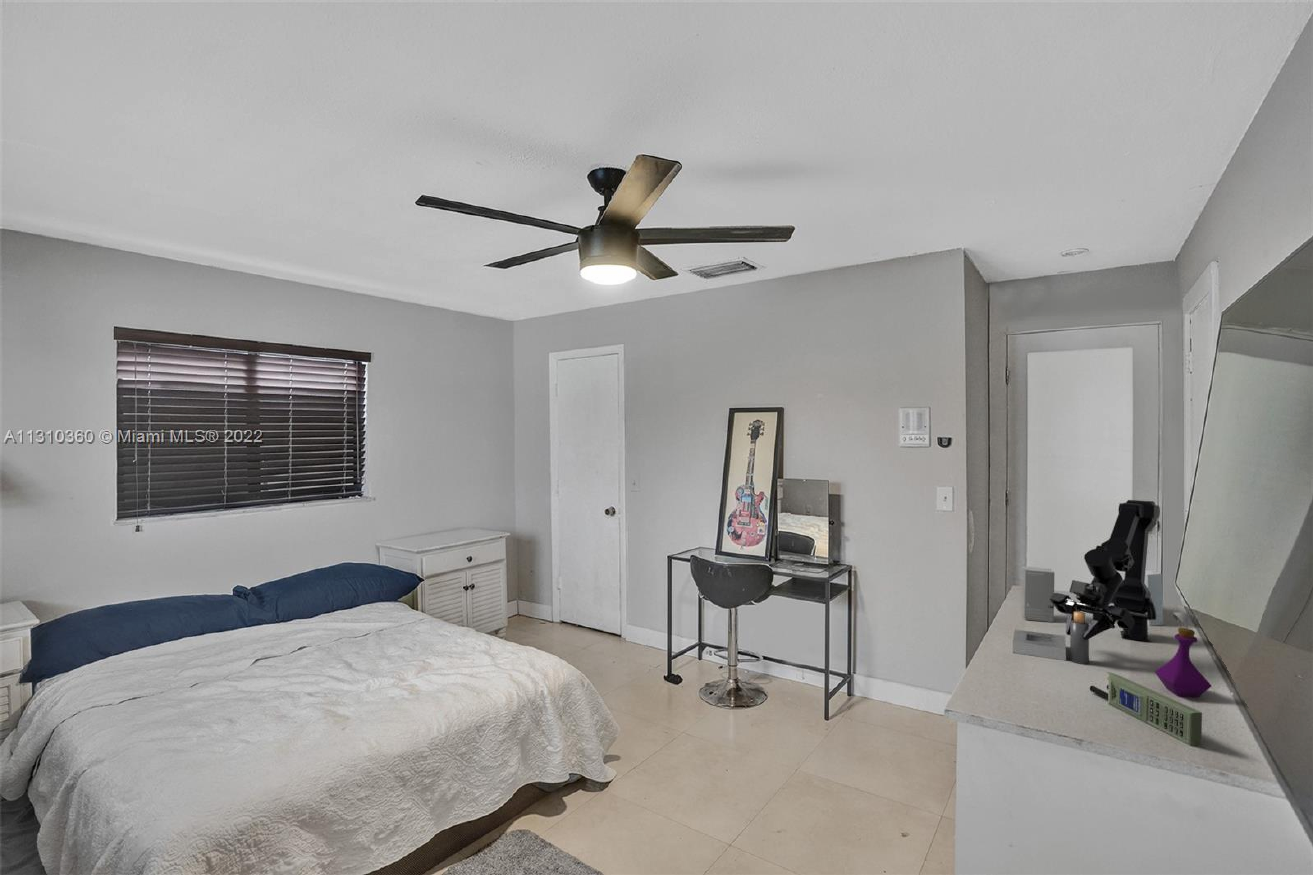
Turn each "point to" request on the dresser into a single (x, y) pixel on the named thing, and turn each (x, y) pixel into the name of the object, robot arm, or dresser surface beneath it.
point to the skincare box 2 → (1153, 594)
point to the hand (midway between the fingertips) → (1075, 636)
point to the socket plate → (1039, 644)
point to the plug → (1079, 639)
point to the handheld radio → (1154, 708)
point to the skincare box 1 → (1037, 594)
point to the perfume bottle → (1183, 666)
